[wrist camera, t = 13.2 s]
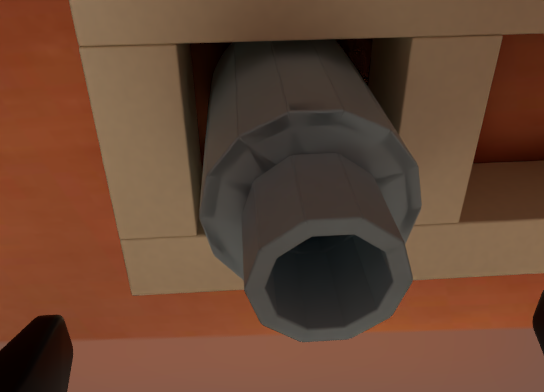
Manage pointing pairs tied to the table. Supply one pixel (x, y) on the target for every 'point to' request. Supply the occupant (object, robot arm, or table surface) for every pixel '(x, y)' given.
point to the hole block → (382, 82)
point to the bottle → (307, 189)
